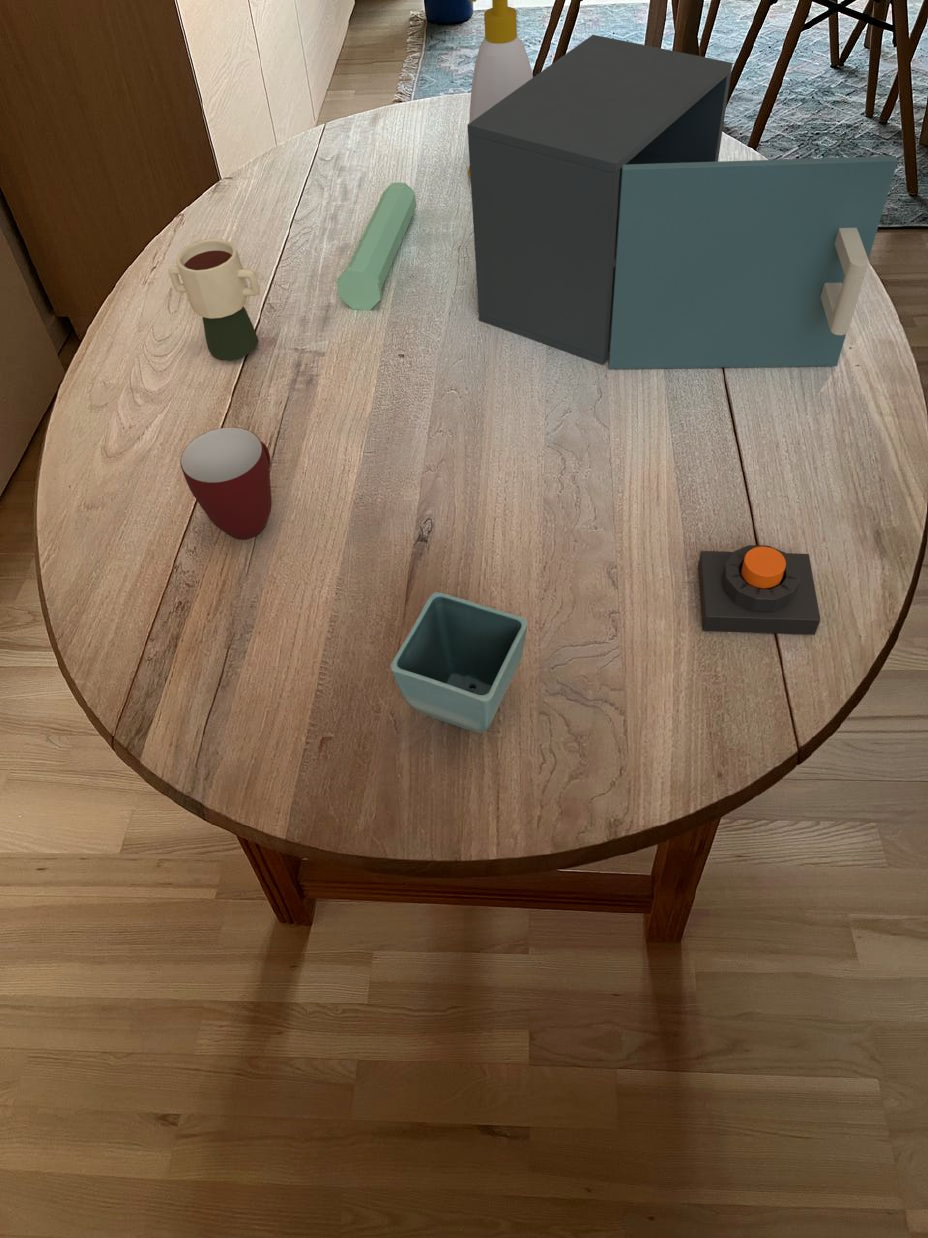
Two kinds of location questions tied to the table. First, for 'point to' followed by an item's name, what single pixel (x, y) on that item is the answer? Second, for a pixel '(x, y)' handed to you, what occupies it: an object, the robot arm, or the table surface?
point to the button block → (756, 596)
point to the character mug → (218, 295)
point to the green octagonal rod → (377, 248)
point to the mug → (230, 479)
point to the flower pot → (459, 660)
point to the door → (742, 260)
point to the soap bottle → (498, 60)
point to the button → (763, 567)
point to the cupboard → (579, 180)
